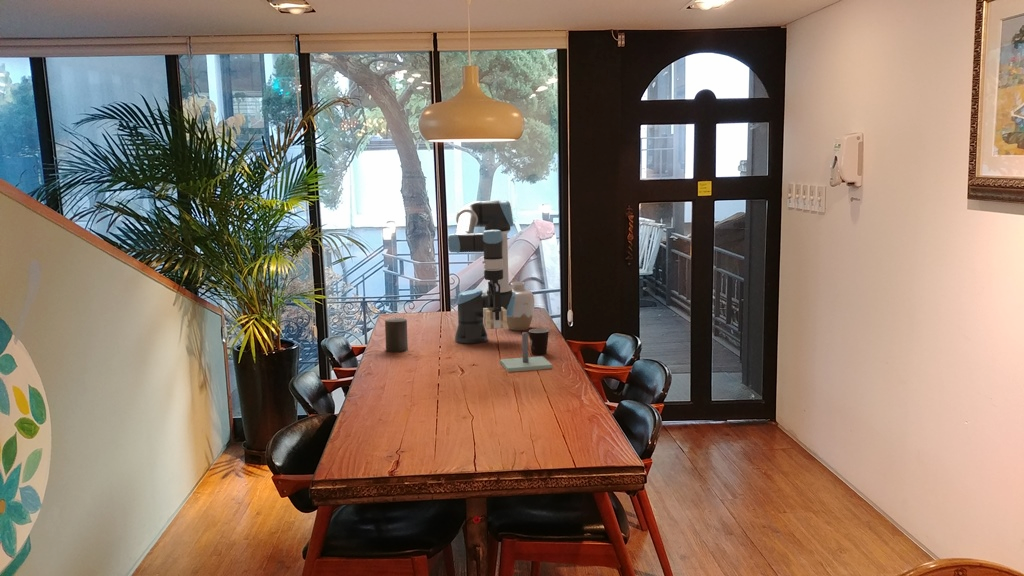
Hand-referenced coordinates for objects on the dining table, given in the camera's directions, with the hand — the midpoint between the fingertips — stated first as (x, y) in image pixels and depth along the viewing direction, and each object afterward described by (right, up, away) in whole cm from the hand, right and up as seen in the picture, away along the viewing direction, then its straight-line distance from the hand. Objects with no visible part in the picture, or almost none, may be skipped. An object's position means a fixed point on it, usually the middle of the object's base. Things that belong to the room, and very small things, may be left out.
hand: (495, 325), depth 320 cm
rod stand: (+12, -16, +5) cm, 21 cm away
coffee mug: (+19, -13, +26) cm, 35 cm away
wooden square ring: (0, 0, 0) cm, 0 cm away
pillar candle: (-45, -13, +39) cm, 60 cm away
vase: (+10, -5, +77) cm, 78 cm away
